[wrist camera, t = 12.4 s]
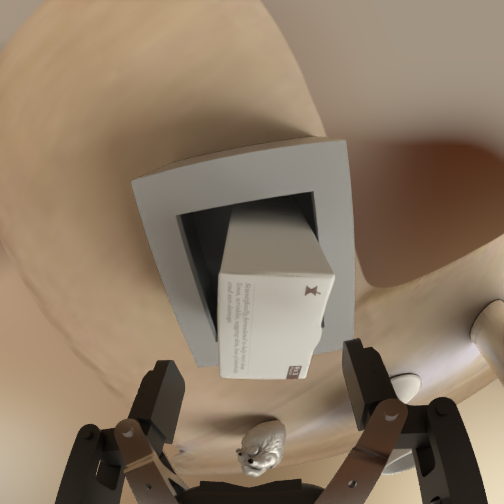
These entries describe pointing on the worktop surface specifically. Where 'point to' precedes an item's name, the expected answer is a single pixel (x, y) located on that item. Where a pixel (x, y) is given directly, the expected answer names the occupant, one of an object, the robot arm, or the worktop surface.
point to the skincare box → (270, 292)
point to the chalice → (405, 392)
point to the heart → (262, 448)
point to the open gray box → (218, 217)
